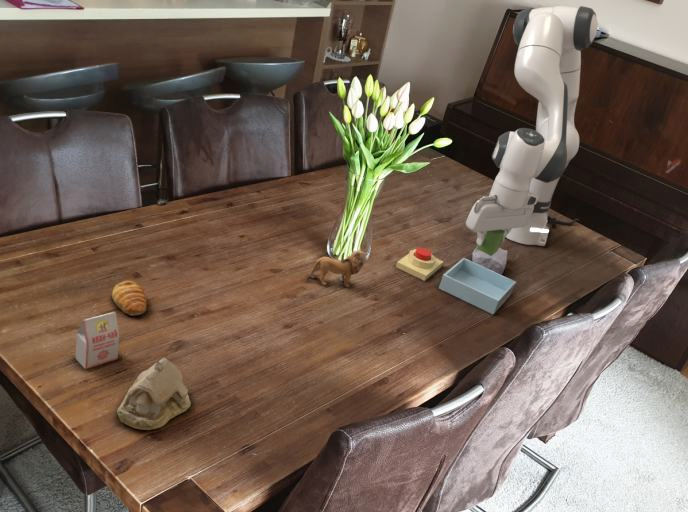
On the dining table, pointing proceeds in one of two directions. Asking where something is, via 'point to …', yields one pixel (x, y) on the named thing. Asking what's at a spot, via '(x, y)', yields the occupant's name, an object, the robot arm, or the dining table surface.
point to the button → (423, 254)
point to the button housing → (419, 265)
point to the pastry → (129, 298)
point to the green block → (491, 242)
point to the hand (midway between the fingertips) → (489, 242)
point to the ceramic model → (155, 397)
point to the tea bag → (97, 340)
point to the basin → (477, 285)
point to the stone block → (491, 260)
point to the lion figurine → (339, 266)
